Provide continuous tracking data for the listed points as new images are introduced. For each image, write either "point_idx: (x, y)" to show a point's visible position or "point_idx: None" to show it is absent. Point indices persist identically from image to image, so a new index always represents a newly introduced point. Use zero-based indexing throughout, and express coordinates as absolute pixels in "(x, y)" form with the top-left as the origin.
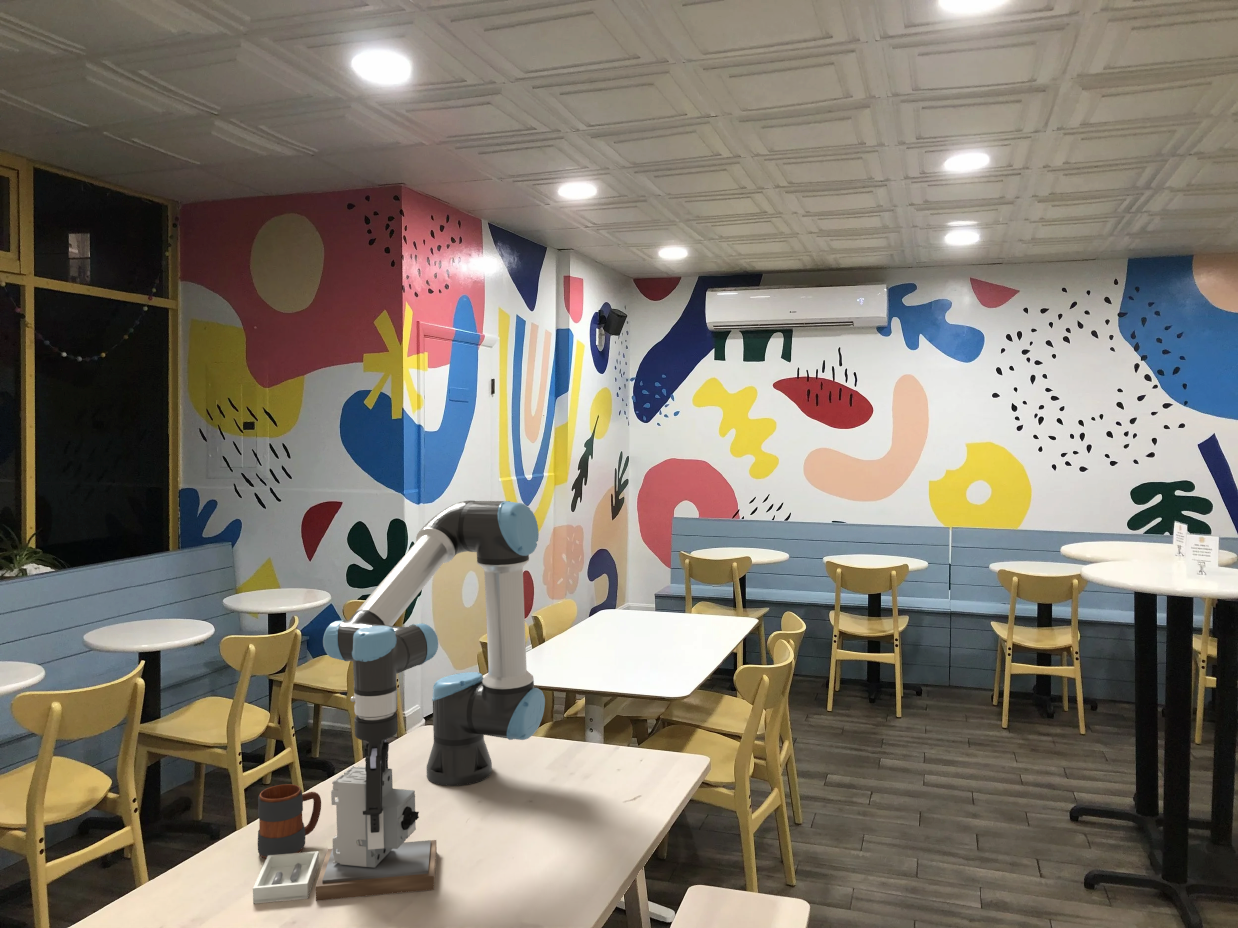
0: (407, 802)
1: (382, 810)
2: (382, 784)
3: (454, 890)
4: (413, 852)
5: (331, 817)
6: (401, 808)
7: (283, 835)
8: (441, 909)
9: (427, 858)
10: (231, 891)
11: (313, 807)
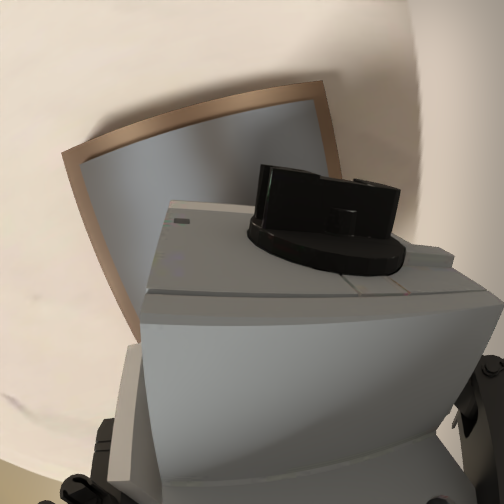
0: (347, 287)
1: (492, 361)
2: (502, 501)
3: (305, 34)
4: (180, 191)
5: (30, 433)
6: (438, 286)
7: None
8: (388, 60)
9: (222, 123)
10: None
11: None
